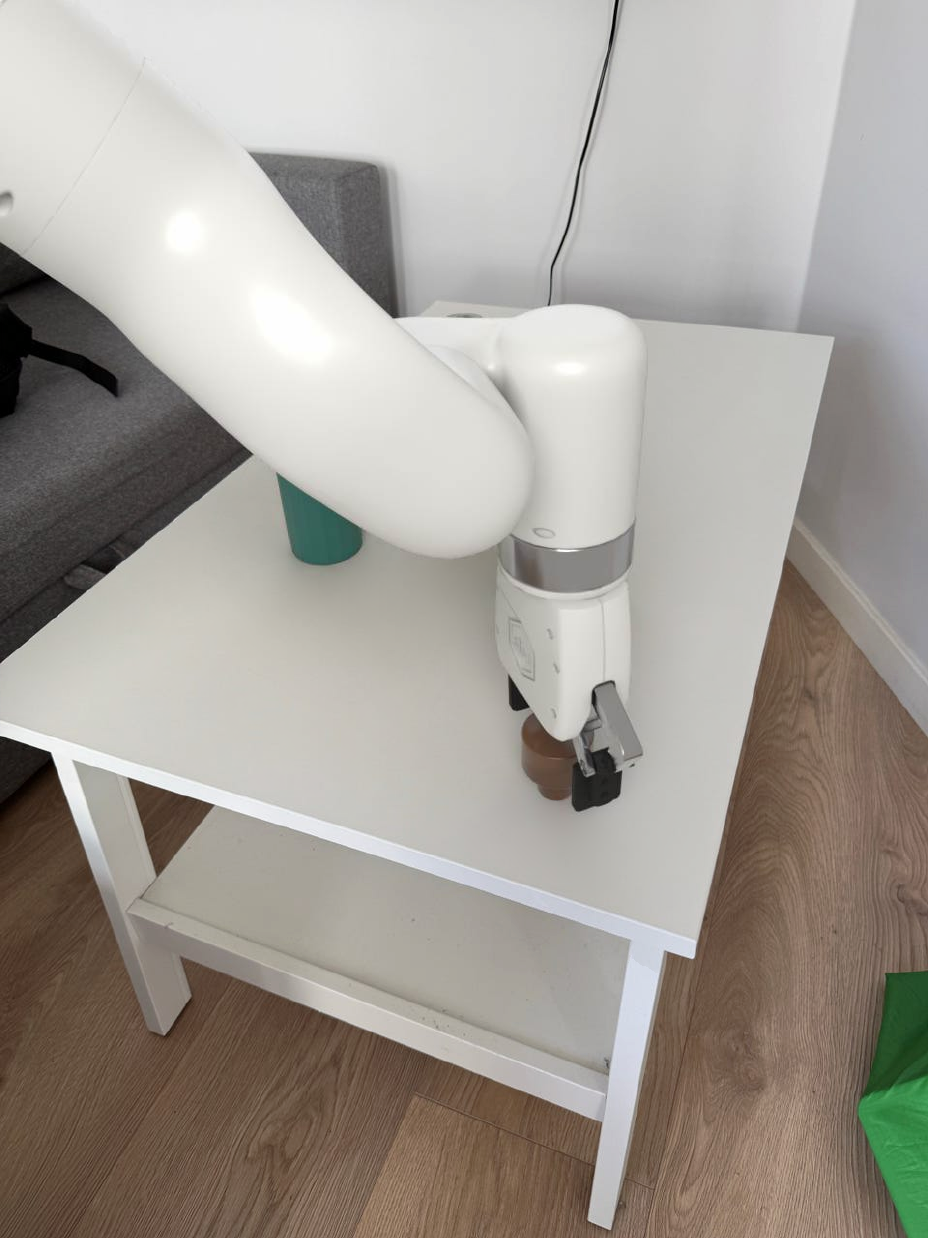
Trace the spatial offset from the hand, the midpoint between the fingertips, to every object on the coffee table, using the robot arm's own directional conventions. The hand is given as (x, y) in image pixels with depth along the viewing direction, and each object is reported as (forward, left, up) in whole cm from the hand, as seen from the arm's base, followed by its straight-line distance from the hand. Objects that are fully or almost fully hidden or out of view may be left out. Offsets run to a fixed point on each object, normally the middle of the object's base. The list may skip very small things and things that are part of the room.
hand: (561, 749), depth 61 cm
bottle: (-7, +36, -4) cm, 37 cm away
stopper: (0, 0, -4) cm, 4 cm away
